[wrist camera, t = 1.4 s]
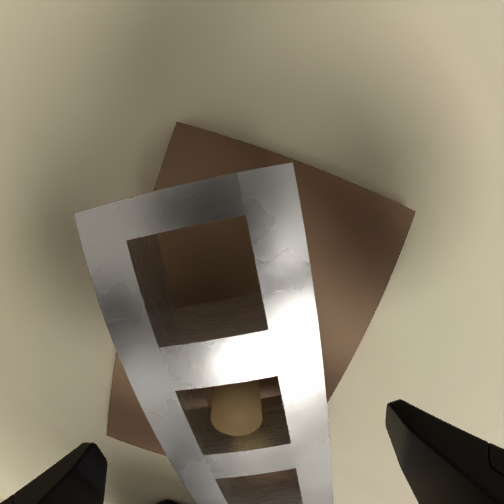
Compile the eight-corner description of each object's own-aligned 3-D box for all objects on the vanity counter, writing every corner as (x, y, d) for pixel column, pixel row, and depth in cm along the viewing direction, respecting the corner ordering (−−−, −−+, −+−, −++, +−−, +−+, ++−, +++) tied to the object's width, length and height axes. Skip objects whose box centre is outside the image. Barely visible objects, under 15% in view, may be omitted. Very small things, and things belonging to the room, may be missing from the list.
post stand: (276, 468, 16) (285, 534, 11) (110, 426, 15) (83, 489, 10) (406, 209, 13) (479, 228, 8) (180, 125, 12) (144, 94, 7)
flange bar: (322, 465, 13) (333, 507, 10) (213, 482, 13) (210, 524, 11) (278, 166, 10) (292, 162, 7) (113, 203, 10) (73, 213, 7)
